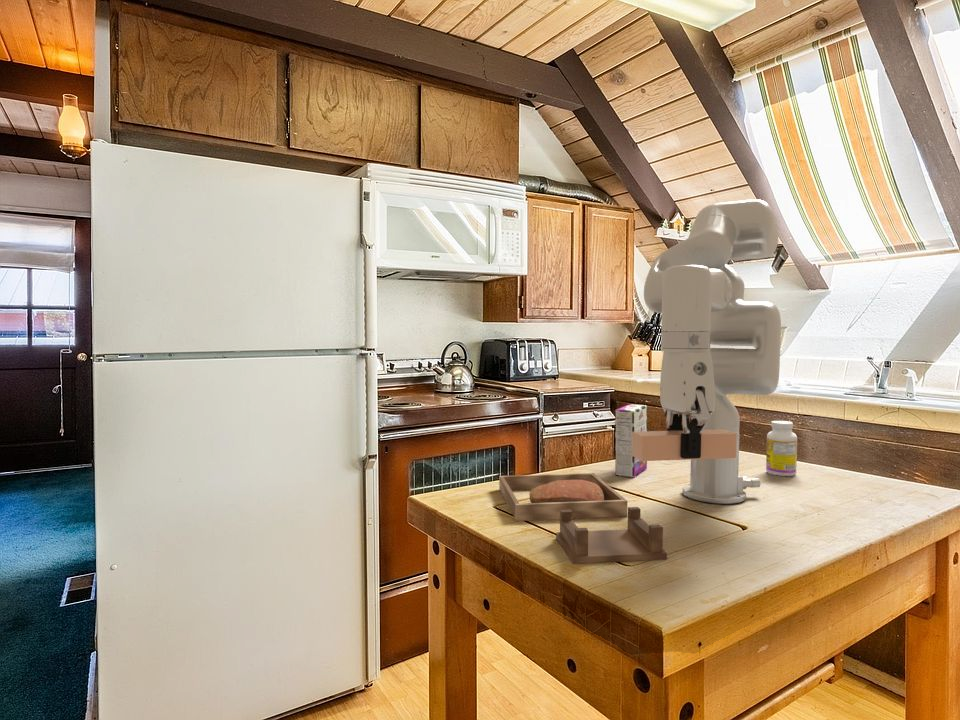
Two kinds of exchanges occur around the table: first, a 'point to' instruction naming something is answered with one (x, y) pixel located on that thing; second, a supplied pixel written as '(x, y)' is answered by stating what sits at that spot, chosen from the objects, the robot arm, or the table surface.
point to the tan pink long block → (669, 445)
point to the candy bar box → (628, 439)
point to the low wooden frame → (546, 511)
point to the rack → (611, 541)
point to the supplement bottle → (781, 449)
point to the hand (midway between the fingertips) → (683, 453)
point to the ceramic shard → (566, 492)
